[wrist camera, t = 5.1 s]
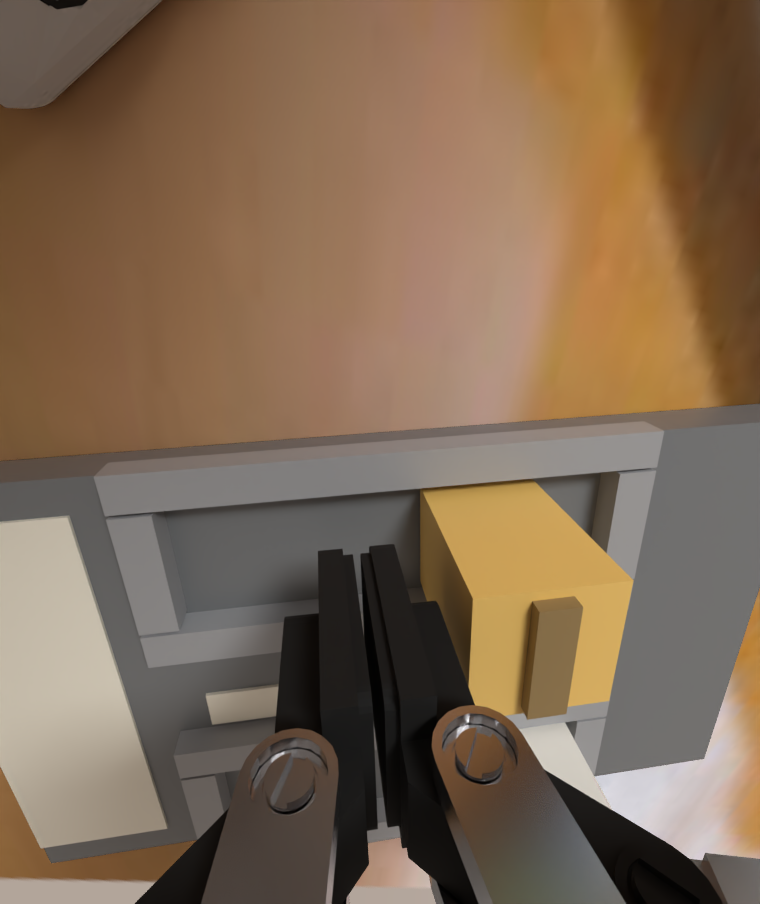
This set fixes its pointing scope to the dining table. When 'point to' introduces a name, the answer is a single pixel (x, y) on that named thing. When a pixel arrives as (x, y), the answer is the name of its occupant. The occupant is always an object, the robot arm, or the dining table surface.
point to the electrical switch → (57, 43)
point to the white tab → (563, 758)
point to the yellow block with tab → (522, 596)
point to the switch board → (296, 593)
